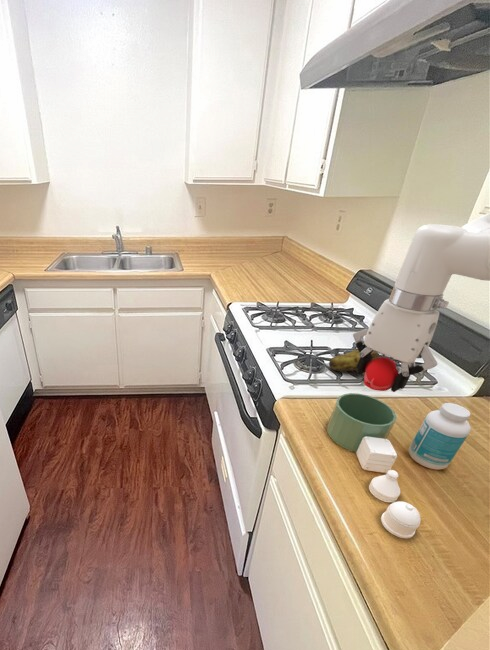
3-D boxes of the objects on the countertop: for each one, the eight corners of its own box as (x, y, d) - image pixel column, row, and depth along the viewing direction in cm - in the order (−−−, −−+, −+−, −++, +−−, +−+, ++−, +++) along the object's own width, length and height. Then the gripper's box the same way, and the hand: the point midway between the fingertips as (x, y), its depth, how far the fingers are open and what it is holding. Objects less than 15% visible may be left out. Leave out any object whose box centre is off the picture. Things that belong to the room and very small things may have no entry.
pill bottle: (455, 469, 73) (490, 419, 66) (425, 473, 72) (456, 423, 65) (427, 445, 79) (456, 397, 72) (399, 448, 78) (425, 400, 71)
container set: (354, 454, 76) (363, 435, 73) (379, 457, 76) (389, 438, 73) (386, 535, 60) (399, 515, 57) (419, 540, 59) (434, 521, 56)
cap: (394, 398, 69) (406, 373, 66) (361, 391, 71) (371, 366, 68) (391, 379, 76) (402, 355, 72) (361, 373, 78) (370, 349, 74)
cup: (392, 440, 80) (406, 413, 76) (363, 461, 75) (377, 433, 70) (345, 413, 88) (355, 387, 84) (316, 430, 83) (325, 403, 78)
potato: (328, 360, 112) (335, 337, 108) (372, 369, 108) (381, 346, 103) (326, 372, 106) (334, 348, 101) (373, 382, 101) (383, 358, 97)
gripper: (477, 310, 59) (430, 395, 69) (378, 283, 71) (350, 359, 81) (458, 319, 55) (412, 407, 65) (357, 289, 67) (330, 367, 77)
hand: (378, 380), depth 73 cm, fingers closed on cap, 6 cm apart
